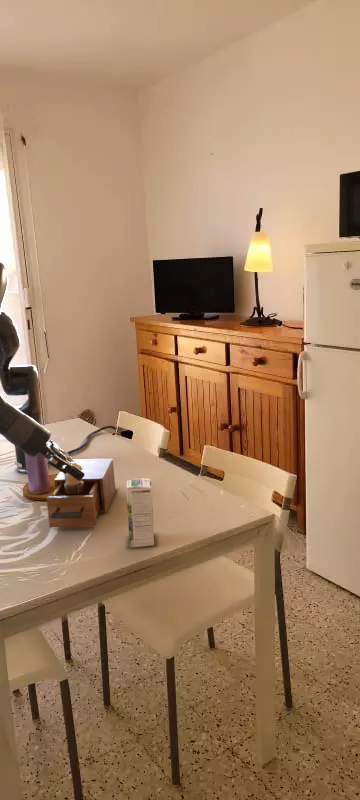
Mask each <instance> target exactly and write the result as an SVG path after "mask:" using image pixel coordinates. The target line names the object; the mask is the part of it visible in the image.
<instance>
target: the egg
mask: <svg viewBox="0 0 360 800" xmlns="http://www.w3.org/2000/svg"><path fill="white" fill-rule="evenodd" d="M70 463H72V464H73V465H74V466H75V467H77V468H78V469H79V470H81V467H80V465H79V464H78V463H75V462H70ZM66 466H67V465H66ZM66 466H65V467H66ZM64 475H65V481H66V482H65V484H64V487H65V492H66V493H67V494H78V493H81V492H83V491H84V482H83V481H82V479H81V480H80V481H78V480H77V479H76V478H74V477H73V476H71V475H70V474H69V473H66V474H64Z"/></svg>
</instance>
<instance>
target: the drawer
mask: <svg viewBox="0 0 360 800" xmlns="http://www.w3.org/2000/svg"><path fill="white" fill-rule="evenodd" d="M64 484H65V482H60V484H59V485H58V487H57V488H56V490H55V489H54V491H53V493H52V494H51V495H48V496H47V497H46V507H47V515H48V516H47V517H48V522H49V523H48V525H49V528H87V527H88V528H89V527H91V528H94V527H96V526H97V516H98V515H99V513H98V512H99V510H100V508H101V506H102V503H101V492H100V481H96V482H84V491H83V492H81V493H78V494H67V493H66V492H65V487H64Z"/></svg>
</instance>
